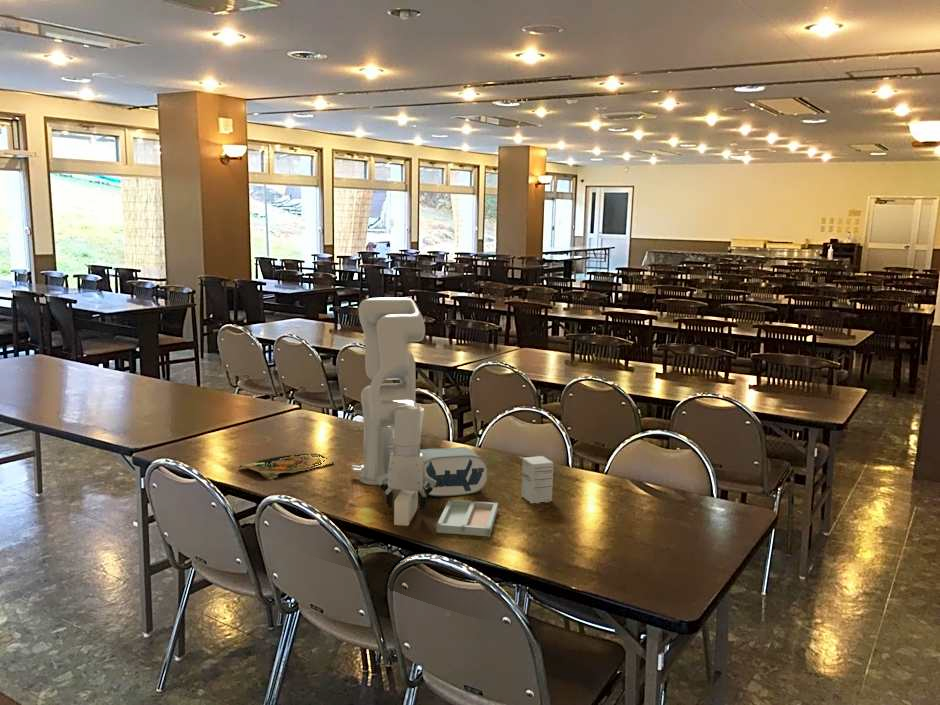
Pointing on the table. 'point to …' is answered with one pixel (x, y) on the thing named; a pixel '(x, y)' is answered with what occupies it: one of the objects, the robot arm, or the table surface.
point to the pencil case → (454, 471)
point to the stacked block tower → (537, 479)
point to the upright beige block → (405, 507)
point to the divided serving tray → (468, 518)
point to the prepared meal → (280, 465)
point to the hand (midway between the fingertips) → (406, 507)
